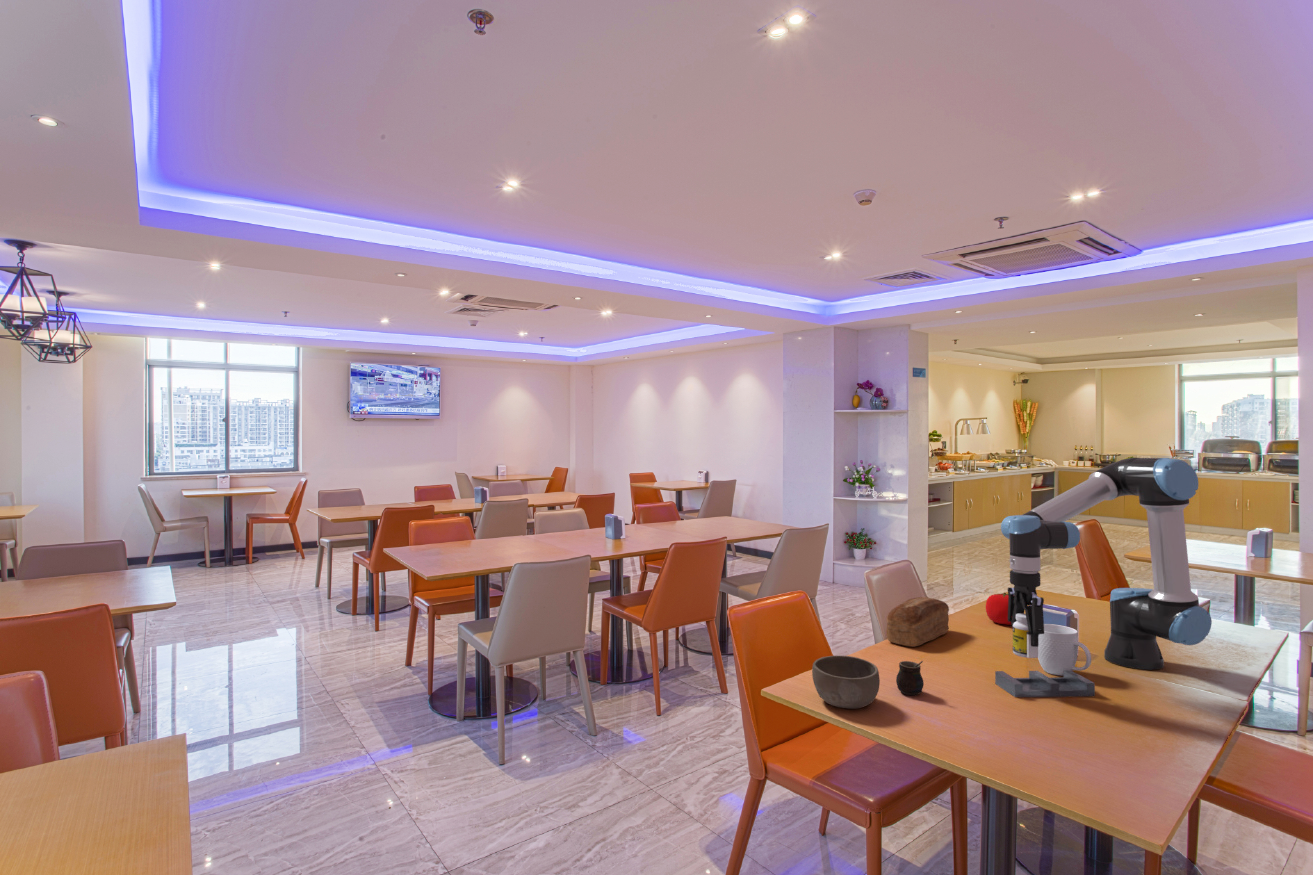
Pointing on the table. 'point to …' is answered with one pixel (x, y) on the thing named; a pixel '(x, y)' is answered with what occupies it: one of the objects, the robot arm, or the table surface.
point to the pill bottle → (1020, 635)
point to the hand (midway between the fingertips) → (1025, 653)
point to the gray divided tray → (1046, 685)
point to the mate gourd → (909, 678)
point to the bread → (917, 621)
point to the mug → (1060, 649)
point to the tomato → (998, 608)
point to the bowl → (846, 681)
